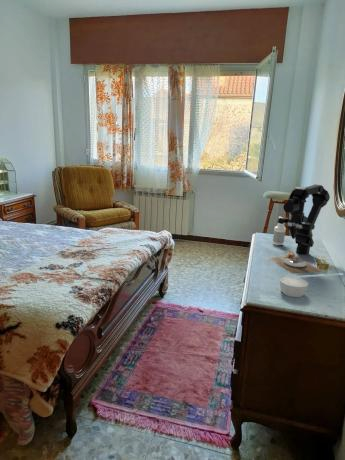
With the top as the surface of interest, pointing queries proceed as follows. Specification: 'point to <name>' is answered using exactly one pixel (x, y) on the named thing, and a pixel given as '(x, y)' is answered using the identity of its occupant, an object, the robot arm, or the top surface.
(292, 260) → the flange plate
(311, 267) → the base board
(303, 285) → the ramekin
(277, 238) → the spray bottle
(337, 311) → the top surface
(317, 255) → the top surface
